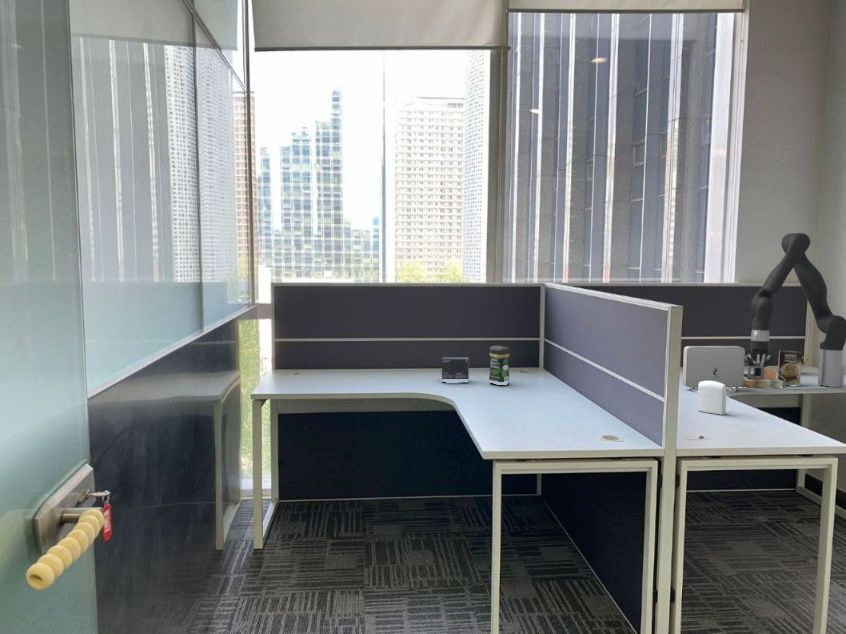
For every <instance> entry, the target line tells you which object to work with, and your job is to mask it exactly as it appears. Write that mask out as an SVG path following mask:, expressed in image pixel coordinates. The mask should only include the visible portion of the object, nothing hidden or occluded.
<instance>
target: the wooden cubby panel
mask: <svg viewBox="0 0 846 634" xmlns="http://www.w3.org/2000/svg"><path fill="white" fill-rule="evenodd" d="M756 377H761V376H756ZM742 387H747V388H746V389H781V388H780V387H782V388H783V381H781V380H779V379H778V378H776V379H764V380H750V379H747V377H744V381H743V386H742Z"/></svg>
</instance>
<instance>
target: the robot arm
mask: <svg viewBox="0 0 846 634" xmlns="http://www.w3.org/2000/svg"><path fill="white" fill-rule="evenodd" d="M780 245H781V248H782V250H783V252H784V256H783V258H782V259H781V260H780V261H779V263H778V264H777V265H776V266H775V267H774V268H773V269H772V270H771V272H770V273H769V274H768V276H767V278H766V279H765V282H764V283H763V285H762V287H761V288H760V289H759V291H757V293H756V294H755V295H754V296H753V298H752V299H751V303H750V305H751V309H753V311H755V312H756V316H755V317H754V318H753V319H752V323H751V334H750V347H749V349H750V351H749V353H748V354H747V355H745V359H744V360H746V363H749V365H750V366H764V368H767V367H768V366H769V365H770V364H771V362H772V361H773V360H775V359H774V356H772V355H770V353H769V350H770V349H769V347H770V322H771V319H772V316H773V311H774V302H773V300H772V298H773V297H774V296H775V295H777V294H778V293H779V292H780V290H781V289H782V287H783V285H784V283H785V281H786V279H787V278H788V276H789V274H790V273H791V272H792V270H793V271H794V272H795V273H794V274H795V275H796V277H797V279H798V281H799V284H800V287H801V288H802V291H803V293H804V295H805V298H806V300H807V301H808V305H809V306H810V308H811V311H812V313H813V317H814V320H815V323H816V327H817V328H818V330H819V331H820V332H822V333H823V334H825V337H824V340H823V341H820V343H819V352H818V368H817V369H818V370H817V385H818V384H820V385H823V386H822V387H825V386H829V387H828V388H840V387H844V378H845V366H844V365H843V360H844V359H843V358H844V347H845V345H846V318H845V317H844V316H841V315H837V314H834V313H833V312H832V310H831V308H830V306H829V304H828V287H827V284H826V281H825V279H824V278H823V275H822V274H821V272H820V270H818V268H817V267H816V266H815V265H814V264H813V263H812V262H811V261H810V259H809V258H808V256H807V255H806V252H807V251H808V249H809V248H810V245H811V238H810V236H809V235H808V234H806V233H804V232H796V233H795V232H794V233H793V232H792V233H788V234H785V235H784V236H783V237H782V239H781V243H780ZM753 374H755V376H761V368H753ZM820 385H819V386H820Z"/></svg>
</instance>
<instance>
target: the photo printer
mask: <svg viewBox="0 0 846 634" xmlns="http://www.w3.org/2000/svg"><path fill="white" fill-rule="evenodd" d="M697 390H698V392H697V411H698V412H701V411H702V413H708V414H716V415H721V416H725V415H726V407H727V392H726V391H727V389H726V385H724V384H722V383H720V382H716V381H702V382H700V383H699V385H698V389H697Z"/></svg>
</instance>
